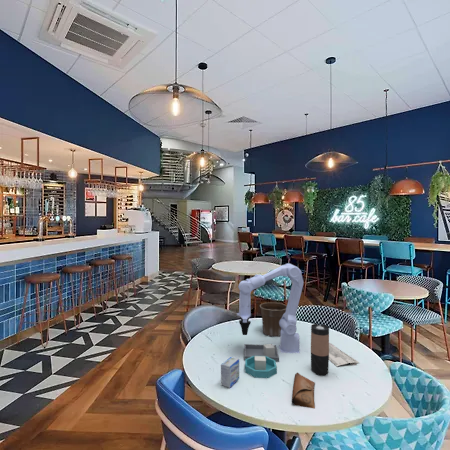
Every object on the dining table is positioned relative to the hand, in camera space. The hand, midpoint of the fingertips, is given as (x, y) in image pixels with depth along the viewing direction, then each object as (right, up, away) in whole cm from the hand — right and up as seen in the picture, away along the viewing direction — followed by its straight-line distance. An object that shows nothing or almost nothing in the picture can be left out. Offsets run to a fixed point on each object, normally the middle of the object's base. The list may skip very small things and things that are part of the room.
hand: (244, 331), depth 144 cm
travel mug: (+32, -11, -18) cm, 38 cm away
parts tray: (+8, -11, -3) cm, 13 cm away
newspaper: (+45, -12, -2) cm, 46 cm away
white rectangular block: (+6, -10, -17) cm, 21 cm away
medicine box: (-8, -11, -26) cm, 30 cm away
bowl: (+6, -11, -17) cm, 21 cm away
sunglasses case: (+21, -12, -33) cm, 41 cm away
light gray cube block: (+12, -10, -4) cm, 16 cm away
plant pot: (+19, -10, +25) cm, 33 cm away
